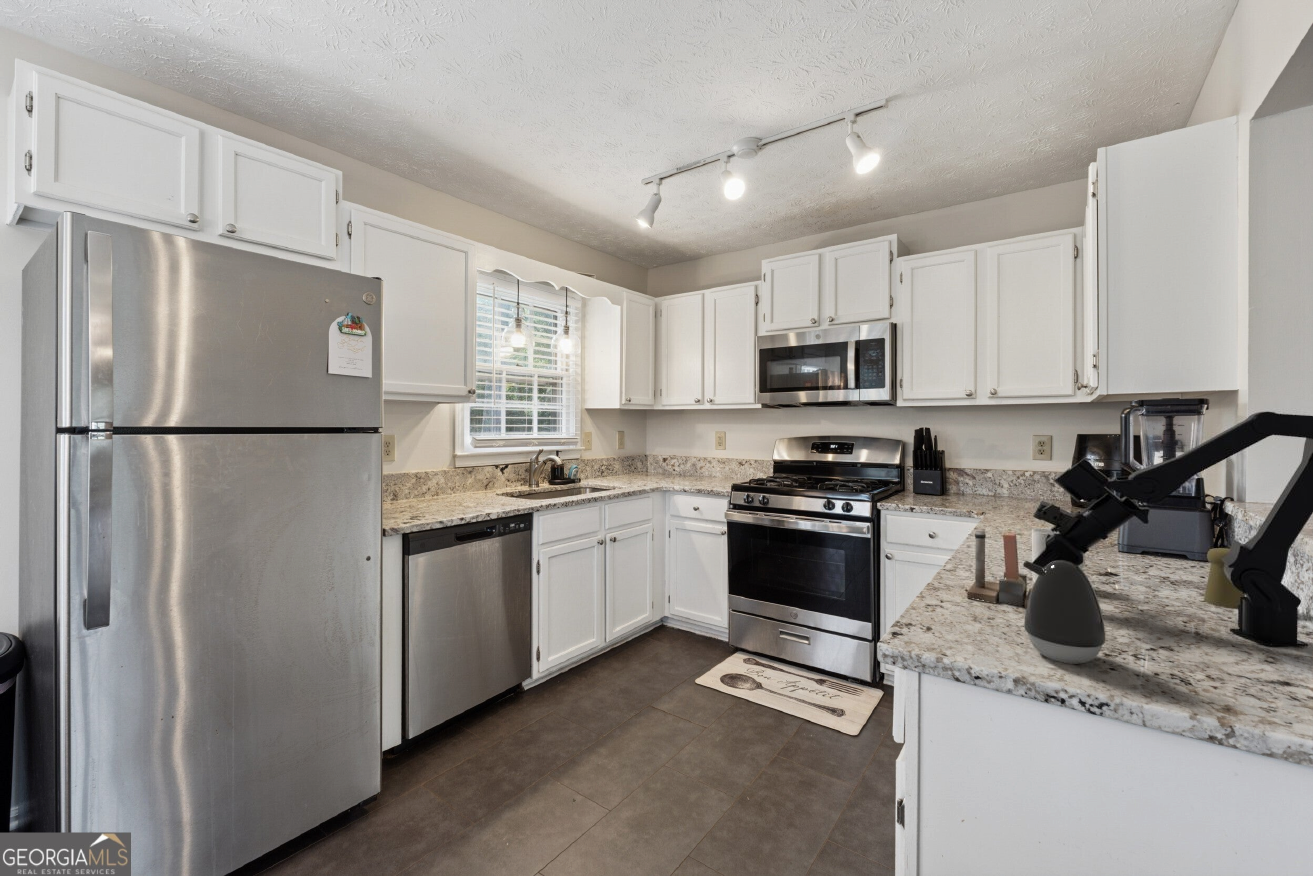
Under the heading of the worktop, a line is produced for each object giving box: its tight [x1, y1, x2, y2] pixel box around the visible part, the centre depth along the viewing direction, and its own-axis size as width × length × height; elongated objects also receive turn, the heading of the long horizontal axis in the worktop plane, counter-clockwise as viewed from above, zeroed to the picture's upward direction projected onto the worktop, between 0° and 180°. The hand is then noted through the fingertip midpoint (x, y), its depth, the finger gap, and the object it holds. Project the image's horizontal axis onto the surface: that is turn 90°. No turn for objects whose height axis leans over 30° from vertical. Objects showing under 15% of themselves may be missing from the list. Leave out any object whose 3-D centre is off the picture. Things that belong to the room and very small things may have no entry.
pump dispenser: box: [1022, 560, 1106, 665], centre depth 86 cm, size 10×10×15 cm
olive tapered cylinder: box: [1203, 547, 1246, 610], centre depth 110 cm, size 6×6×11 cm
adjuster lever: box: [1002, 532, 1026, 593], centre depth 115 cm, size 4×4×13 cm
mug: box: [1031, 528, 1086, 584], centre depth 123 cm, size 10×7×12 cm, turn 33°
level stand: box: [967, 529, 1033, 609], centre depth 115 cm, size 15×11×14 cm
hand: (1030, 569), depth 113 cm, fingers closed
